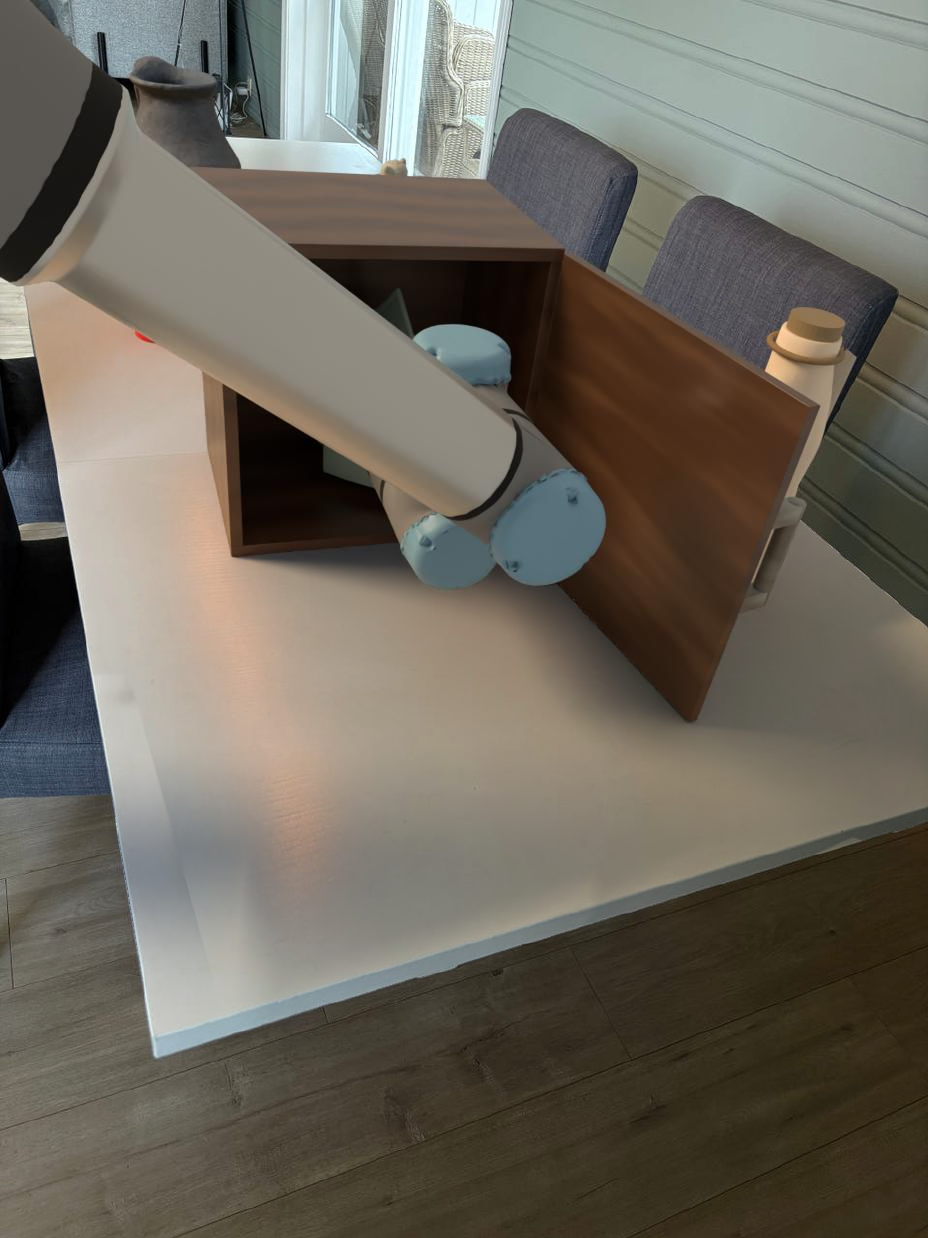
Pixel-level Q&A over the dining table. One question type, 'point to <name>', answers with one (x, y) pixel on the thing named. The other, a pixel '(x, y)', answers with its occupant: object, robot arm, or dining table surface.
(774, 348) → the water bottle
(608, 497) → the cupboard door
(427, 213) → the cupboard
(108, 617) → the dining table surface
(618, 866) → the dining table surface
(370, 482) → the planter
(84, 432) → the dining table surface
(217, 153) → the pitcher
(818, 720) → the dining table surface
